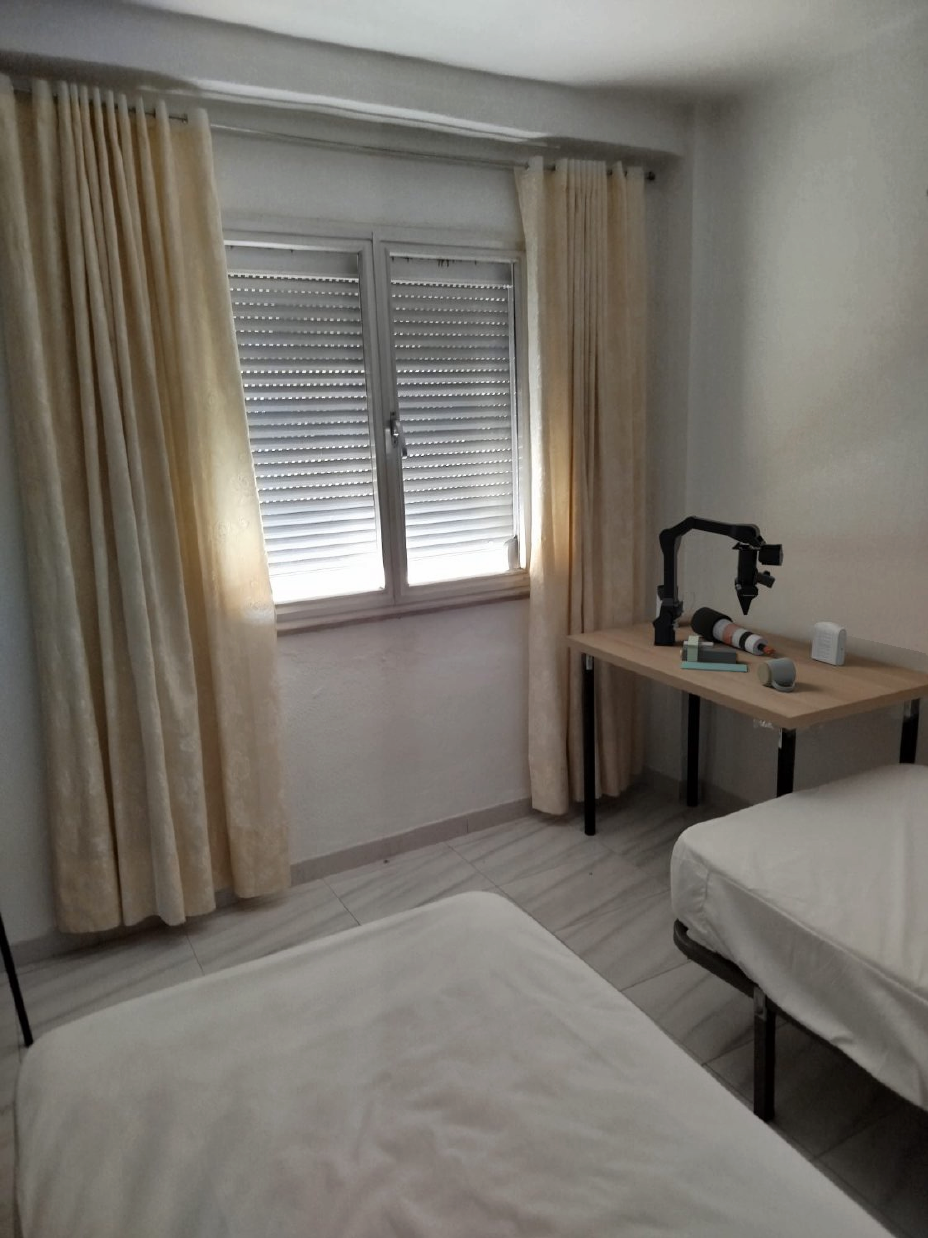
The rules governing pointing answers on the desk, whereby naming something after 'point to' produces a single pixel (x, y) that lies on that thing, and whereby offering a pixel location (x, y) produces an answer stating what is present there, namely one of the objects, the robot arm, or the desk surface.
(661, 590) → the glass holder
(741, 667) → the mat
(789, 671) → the ceramic mug
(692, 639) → the light grey piece
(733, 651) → the dark gray bar
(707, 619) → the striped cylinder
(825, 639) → the photo printer
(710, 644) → the block
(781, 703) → the desk surface
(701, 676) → the desk surface
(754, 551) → the robot arm
